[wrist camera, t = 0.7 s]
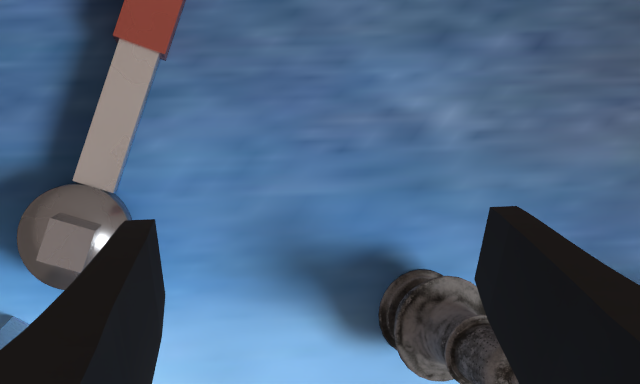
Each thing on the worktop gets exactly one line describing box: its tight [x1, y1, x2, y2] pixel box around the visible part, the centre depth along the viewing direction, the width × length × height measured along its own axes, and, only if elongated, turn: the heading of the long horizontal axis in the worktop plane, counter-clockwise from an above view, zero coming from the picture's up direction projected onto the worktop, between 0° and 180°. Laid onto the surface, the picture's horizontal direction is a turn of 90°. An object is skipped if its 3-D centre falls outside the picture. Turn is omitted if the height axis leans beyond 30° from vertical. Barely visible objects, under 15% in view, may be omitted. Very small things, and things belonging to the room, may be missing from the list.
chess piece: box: [379, 270, 519, 384], centre depth 31 cm, size 6×6×12 cm
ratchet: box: [17, 0, 186, 290], centre depth 30 cm, size 19×5×5 cm, turn 161°
